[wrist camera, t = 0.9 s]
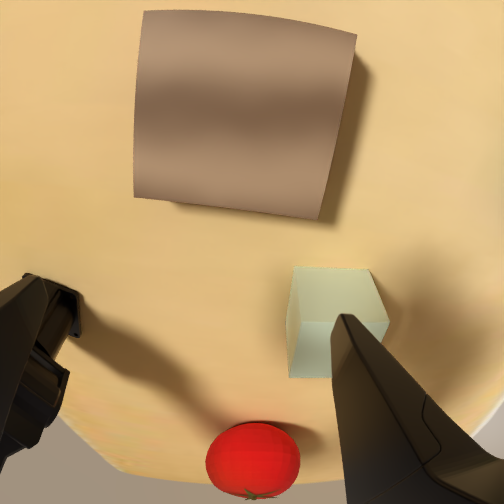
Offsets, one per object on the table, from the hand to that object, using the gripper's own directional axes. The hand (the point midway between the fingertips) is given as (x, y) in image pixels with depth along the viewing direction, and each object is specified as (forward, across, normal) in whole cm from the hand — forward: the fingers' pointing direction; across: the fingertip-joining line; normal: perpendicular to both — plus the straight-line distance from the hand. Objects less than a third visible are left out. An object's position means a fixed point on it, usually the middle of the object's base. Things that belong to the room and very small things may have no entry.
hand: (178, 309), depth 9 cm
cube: (+14, -9, +10) cm, 19 cm away
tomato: (+14, -6, +35) cm, 38 cm away
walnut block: (+14, -1, -4) cm, 15 cm away
